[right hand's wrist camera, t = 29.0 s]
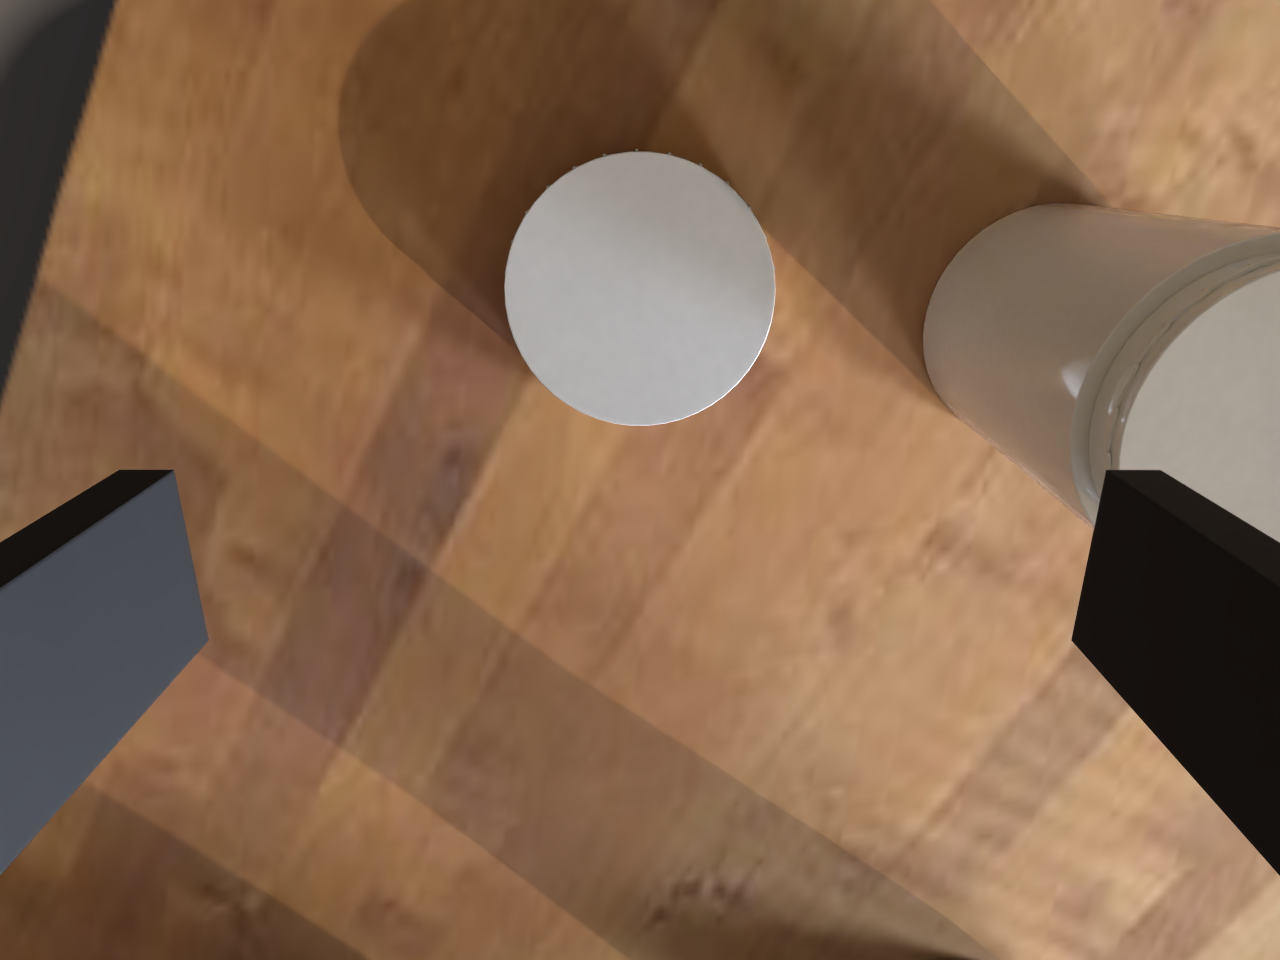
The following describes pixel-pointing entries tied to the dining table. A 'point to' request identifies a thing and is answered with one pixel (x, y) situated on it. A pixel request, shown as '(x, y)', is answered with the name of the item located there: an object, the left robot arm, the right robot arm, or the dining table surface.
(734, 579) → the dining table surface
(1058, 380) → the jar
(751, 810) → the dining table surface
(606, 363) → the lid
